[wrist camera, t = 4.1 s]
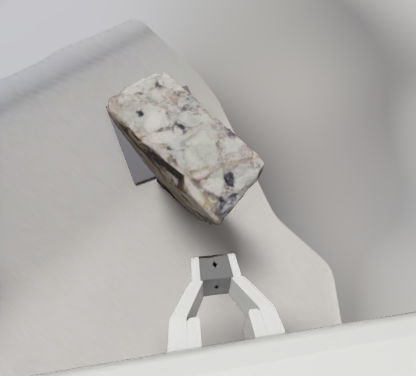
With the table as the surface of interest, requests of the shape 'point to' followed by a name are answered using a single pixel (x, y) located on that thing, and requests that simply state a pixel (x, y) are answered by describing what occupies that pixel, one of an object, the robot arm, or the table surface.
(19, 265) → the table surface
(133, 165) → the mat
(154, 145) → the stone block
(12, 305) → the table surface
